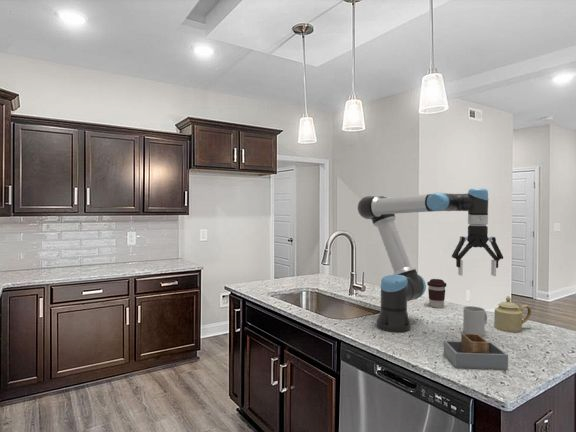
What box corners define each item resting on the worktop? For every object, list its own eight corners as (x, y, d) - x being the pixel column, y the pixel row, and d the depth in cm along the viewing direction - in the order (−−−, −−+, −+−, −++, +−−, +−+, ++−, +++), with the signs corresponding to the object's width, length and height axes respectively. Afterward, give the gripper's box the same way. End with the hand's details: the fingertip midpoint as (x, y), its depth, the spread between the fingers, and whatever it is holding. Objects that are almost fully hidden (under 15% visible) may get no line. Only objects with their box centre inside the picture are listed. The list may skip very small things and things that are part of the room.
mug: (475, 337, 163) (475, 312, 162) (458, 331, 170) (459, 307, 170) (494, 334, 168) (494, 309, 168) (477, 328, 175) (477, 304, 175)
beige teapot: (508, 322, 185) (509, 291, 184) (532, 329, 175) (533, 296, 174) (488, 326, 178) (489, 294, 177) (512, 334, 168) (512, 300, 168)
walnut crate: (470, 363, 133) (471, 342, 133) (461, 353, 142) (461, 333, 142) (488, 364, 133) (488, 342, 133) (477, 354, 142) (478, 334, 142)
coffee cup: (440, 309, 207) (441, 282, 206) (423, 306, 214) (424, 279, 214) (449, 306, 213) (449, 280, 213) (432, 303, 221) (432, 277, 220)
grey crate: (455, 367, 132) (455, 353, 132) (443, 353, 145) (443, 340, 144) (507, 369, 131) (508, 354, 131) (491, 355, 143) (491, 342, 143)
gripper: (450, 225, 158) (449, 276, 159) (513, 225, 157) (512, 277, 157) (444, 224, 166) (443, 273, 166) (504, 225, 164) (503, 274, 165)
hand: (476, 275), depth 162 cm, fingers open, 13 cm apart
